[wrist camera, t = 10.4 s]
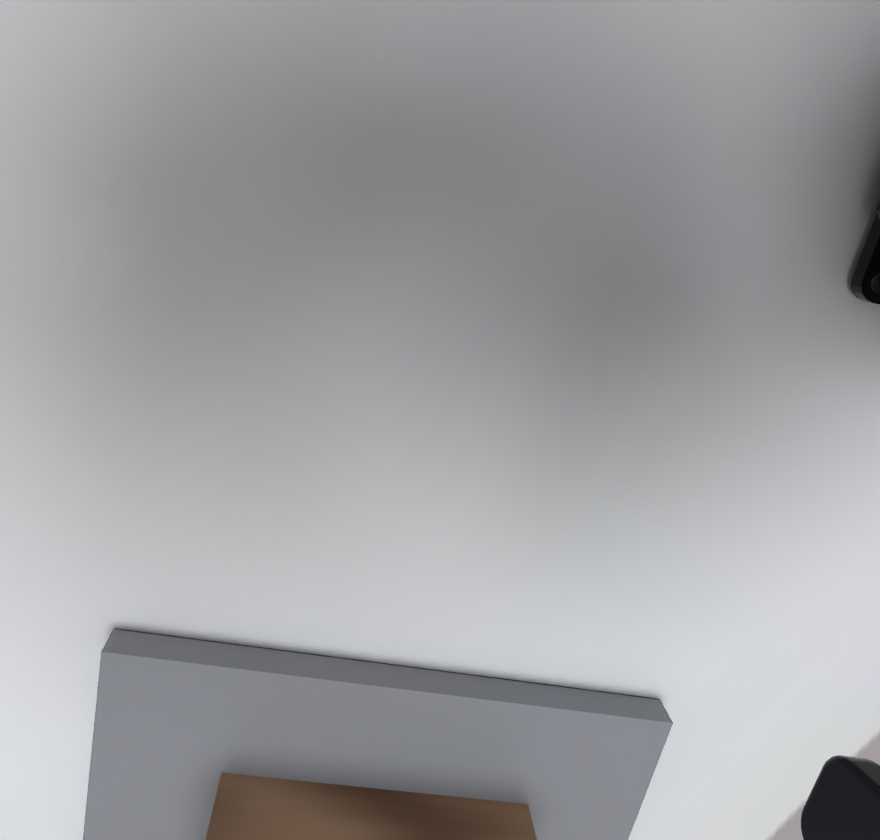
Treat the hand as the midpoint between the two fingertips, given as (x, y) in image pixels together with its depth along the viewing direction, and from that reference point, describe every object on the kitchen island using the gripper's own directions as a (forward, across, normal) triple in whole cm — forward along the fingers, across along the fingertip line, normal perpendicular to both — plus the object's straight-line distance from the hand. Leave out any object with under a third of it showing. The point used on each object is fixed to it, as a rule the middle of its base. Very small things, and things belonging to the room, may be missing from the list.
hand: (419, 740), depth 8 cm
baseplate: (+12, -2, +16) cm, 20 cm away
